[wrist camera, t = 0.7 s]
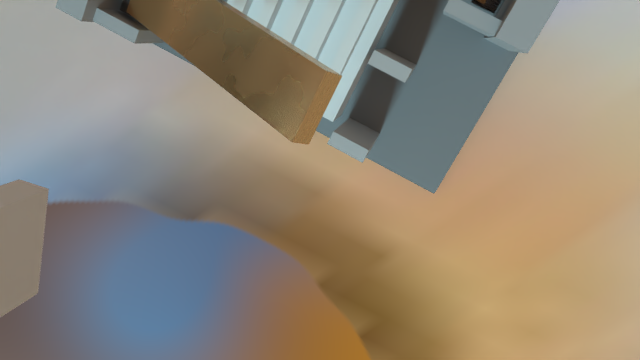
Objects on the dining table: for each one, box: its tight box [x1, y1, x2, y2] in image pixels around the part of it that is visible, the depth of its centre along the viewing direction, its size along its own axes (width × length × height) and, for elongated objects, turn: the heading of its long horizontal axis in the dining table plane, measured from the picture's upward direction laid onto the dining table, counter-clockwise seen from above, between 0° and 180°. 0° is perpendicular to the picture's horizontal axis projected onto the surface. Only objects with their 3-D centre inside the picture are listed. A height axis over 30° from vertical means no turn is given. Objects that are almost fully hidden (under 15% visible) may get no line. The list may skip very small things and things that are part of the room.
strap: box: [120, 0, 342, 144], centre depth 25 cm, size 15×3×1 cm, turn 63°
